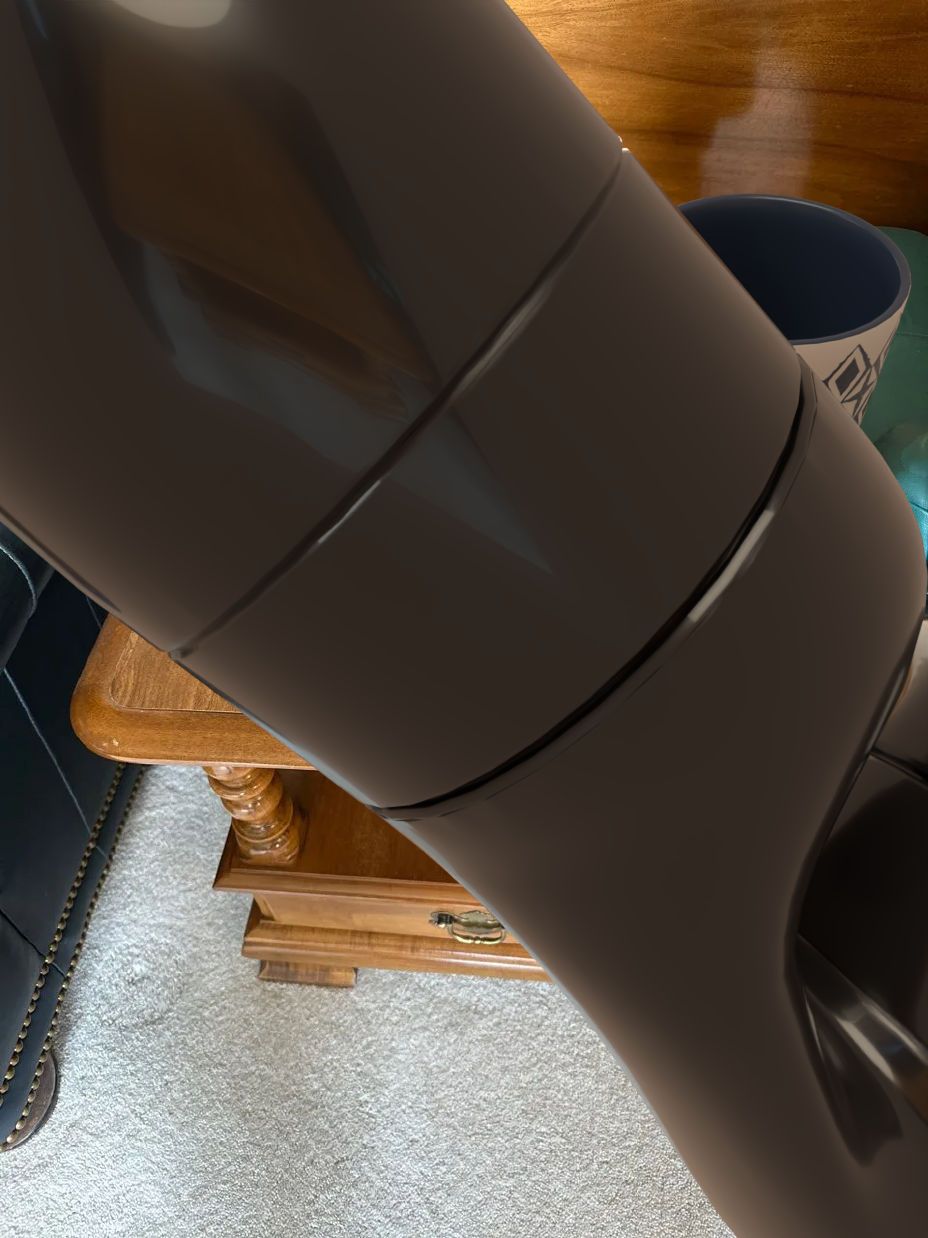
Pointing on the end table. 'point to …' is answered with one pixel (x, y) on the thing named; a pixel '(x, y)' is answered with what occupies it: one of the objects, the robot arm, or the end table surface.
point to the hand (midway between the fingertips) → (548, 651)
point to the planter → (814, 281)
